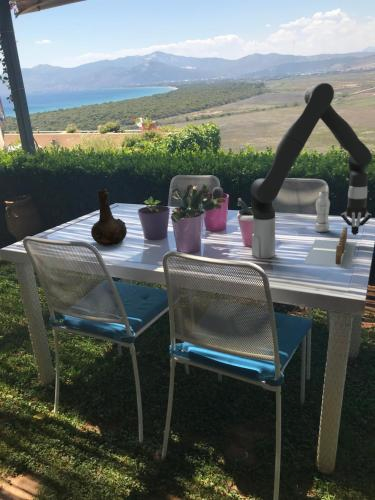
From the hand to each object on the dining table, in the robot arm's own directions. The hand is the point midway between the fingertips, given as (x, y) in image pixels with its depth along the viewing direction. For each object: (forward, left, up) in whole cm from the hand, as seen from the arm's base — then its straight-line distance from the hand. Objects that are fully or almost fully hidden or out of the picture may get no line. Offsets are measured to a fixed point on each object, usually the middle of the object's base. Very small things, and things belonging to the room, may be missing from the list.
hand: (354, 234), depth 184 cm
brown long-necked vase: (-99, +62, -5) cm, 118 cm away
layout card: (-15, -4, -5) cm, 16 cm away
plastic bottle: (0, +22, -5) cm, 23 cm away
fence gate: (-7, -1, -4) cm, 8 cm away
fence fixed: (-16, -11, -4) cm, 20 cm away
